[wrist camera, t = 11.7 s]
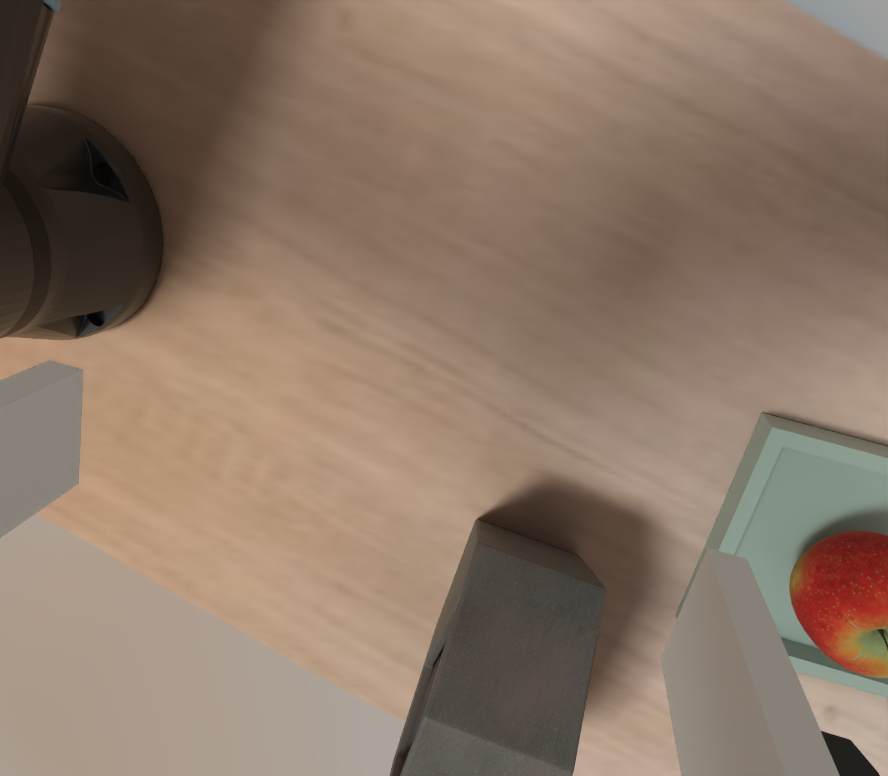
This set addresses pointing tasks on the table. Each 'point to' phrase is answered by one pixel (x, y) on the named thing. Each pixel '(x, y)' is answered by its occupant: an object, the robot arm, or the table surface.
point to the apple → (845, 599)
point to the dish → (800, 520)
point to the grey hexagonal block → (505, 664)
